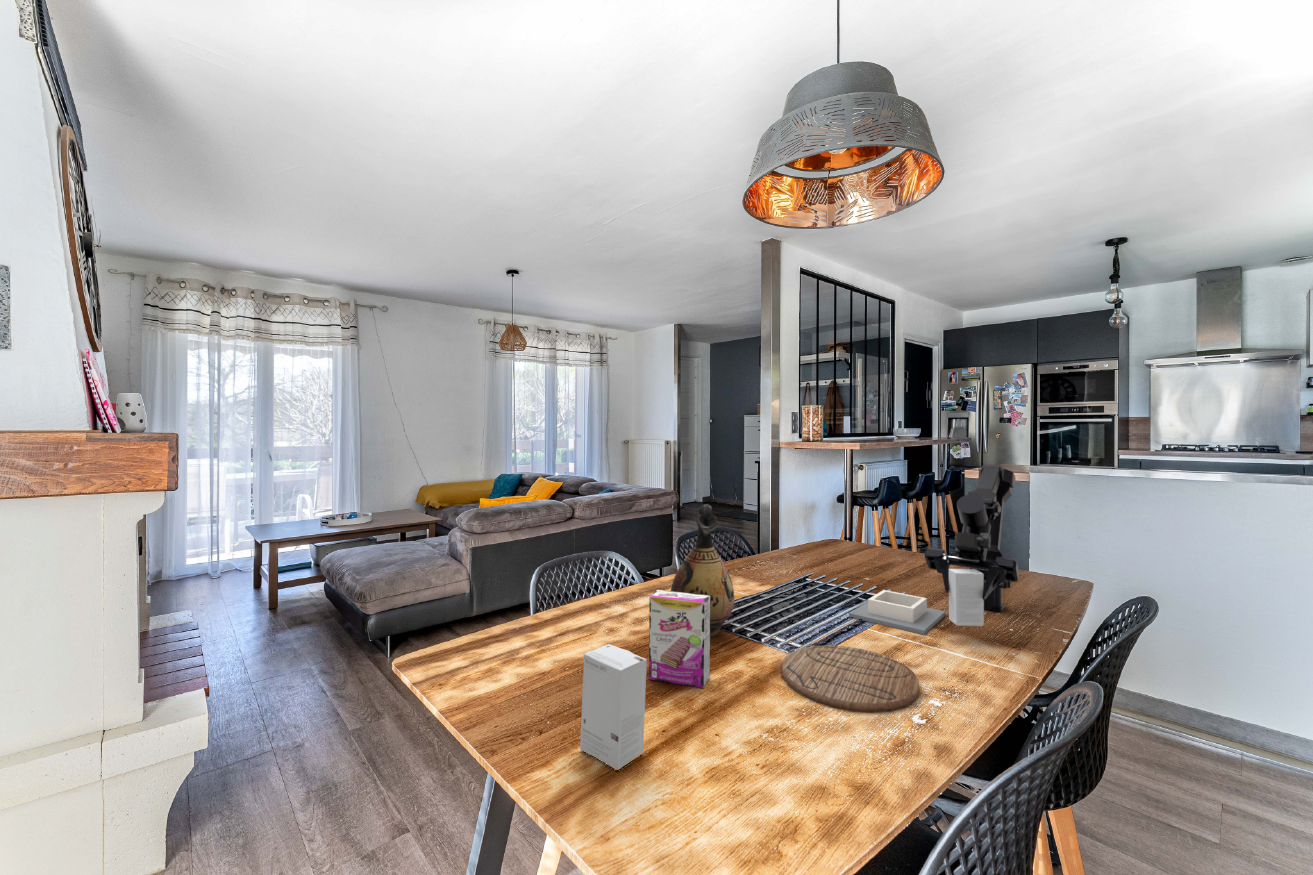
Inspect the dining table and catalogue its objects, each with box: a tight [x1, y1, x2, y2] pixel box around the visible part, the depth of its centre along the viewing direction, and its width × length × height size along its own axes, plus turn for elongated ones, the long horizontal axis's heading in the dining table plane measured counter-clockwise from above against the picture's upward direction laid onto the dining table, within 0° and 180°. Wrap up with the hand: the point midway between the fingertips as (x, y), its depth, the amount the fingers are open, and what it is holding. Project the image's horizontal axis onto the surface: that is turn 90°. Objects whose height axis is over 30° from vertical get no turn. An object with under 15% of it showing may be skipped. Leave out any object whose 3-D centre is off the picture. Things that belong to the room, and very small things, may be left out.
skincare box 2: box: [948, 568, 985, 627], centre depth 125 cm, size 6×4×12 cm
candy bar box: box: [648, 589, 711, 689], centre depth 105 cm, size 11×5×16 cm, turn 71°
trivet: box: [781, 644, 920, 714], centre depth 105 cm, size 25×25×2 cm
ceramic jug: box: [670, 503, 735, 637], centre depth 131 cm, size 17×15×30 cm
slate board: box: [848, 601, 946, 636], centre depth 140 cm, size 18×18×1 cm
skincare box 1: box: [579, 643, 648, 769], centre depth 81 cm, size 8×6×15 cm
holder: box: [867, 589, 928, 623], centre depth 140 cm, size 11×11×4 cm
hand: (964, 595), depth 123 cm, fingers closed on skincare box 2, 7 cm apart
